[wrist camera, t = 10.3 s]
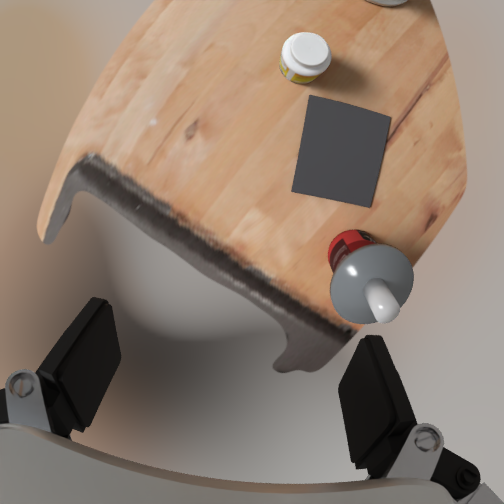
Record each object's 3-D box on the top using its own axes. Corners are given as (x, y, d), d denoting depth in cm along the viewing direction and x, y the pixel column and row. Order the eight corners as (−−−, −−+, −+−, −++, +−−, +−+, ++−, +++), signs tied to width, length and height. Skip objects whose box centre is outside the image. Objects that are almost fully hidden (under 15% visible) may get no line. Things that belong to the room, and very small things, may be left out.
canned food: (379, 260, 46) (405, 297, 36) (335, 279, 47) (351, 320, 37) (366, 219, 43) (393, 249, 33) (319, 240, 45) (334, 275, 35)
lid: (344, 235, 32) (359, 259, 27) (422, 252, 33) (445, 275, 27) (319, 314, 37) (326, 346, 32) (391, 322, 37) (406, 351, 32)
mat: (309, 95, 36) (309, 94, 35) (389, 116, 36) (390, 116, 36) (291, 191, 42) (291, 191, 41) (368, 206, 42) (369, 207, 41)
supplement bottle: (327, 66, 34) (347, 51, 24) (300, 92, 36) (312, 83, 26) (297, 40, 32) (307, 16, 23) (270, 65, 34) (272, 48, 25)
